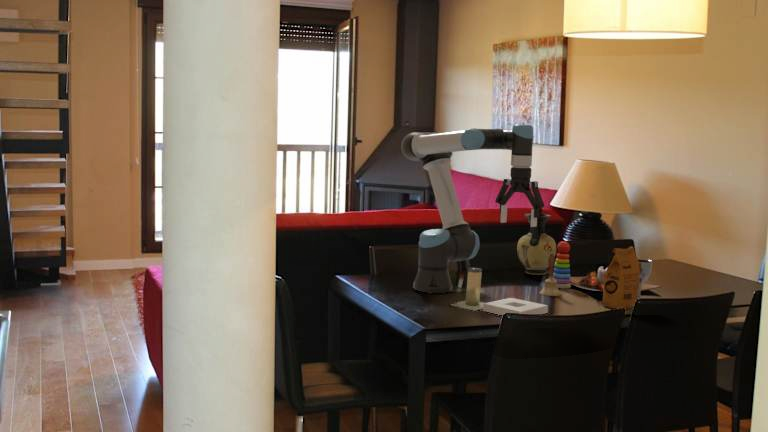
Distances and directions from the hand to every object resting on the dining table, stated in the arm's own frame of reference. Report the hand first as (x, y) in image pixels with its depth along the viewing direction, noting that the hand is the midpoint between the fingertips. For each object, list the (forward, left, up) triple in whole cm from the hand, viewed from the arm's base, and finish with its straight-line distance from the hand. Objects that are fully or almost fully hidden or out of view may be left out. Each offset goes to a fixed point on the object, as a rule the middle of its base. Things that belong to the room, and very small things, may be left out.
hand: (518, 224), depth 323 cm
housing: (+12, -16, -29) cm, 35 cm away
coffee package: (+30, +24, -29) cm, 48 cm away
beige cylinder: (-4, -20, -28) cm, 35 cm away
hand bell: (+1, +22, -29) cm, 36 cm away
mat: (-4, -20, -29) cm, 35 cm away
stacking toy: (-4, +37, -29) cm, 47 cm away
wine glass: (+28, +42, -29) cm, 58 cm away
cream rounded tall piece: (-29, +55, -29) cm, 69 cm away
